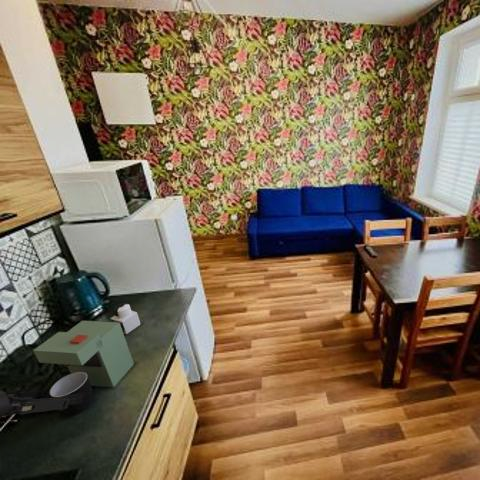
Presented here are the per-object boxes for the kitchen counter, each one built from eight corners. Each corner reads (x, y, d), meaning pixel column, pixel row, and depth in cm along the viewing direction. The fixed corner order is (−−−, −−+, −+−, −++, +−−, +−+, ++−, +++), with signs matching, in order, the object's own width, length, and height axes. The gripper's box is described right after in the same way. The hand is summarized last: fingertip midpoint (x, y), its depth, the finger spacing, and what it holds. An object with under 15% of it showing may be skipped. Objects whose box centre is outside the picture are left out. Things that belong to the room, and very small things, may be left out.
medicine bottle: (114, 331, 119) (106, 309, 114) (129, 321, 125) (122, 299, 120) (126, 334, 117) (118, 312, 112) (141, 324, 123) (134, 302, 118)
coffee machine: (59, 400, 88) (31, 348, 80) (99, 361, 103) (79, 314, 94) (99, 403, 88) (75, 351, 79) (134, 364, 102) (117, 316, 93)
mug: (99, 388, 93) (89, 367, 89) (95, 410, 86) (84, 388, 82) (53, 405, 87) (40, 383, 83) (44, 430, 80) (31, 407, 76)
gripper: (-84, 426, 61) (17, 407, 81) (16, 434, 60) (94, 413, 79) (-64, 389, 64) (29, 379, 84) (31, 396, 63) (103, 385, 82)
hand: (61, 396), depth 82 cm, fingers open, 13 cm apart
